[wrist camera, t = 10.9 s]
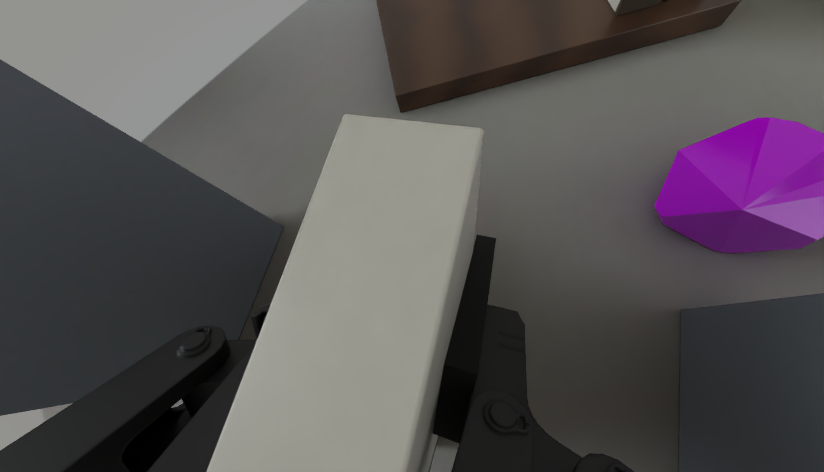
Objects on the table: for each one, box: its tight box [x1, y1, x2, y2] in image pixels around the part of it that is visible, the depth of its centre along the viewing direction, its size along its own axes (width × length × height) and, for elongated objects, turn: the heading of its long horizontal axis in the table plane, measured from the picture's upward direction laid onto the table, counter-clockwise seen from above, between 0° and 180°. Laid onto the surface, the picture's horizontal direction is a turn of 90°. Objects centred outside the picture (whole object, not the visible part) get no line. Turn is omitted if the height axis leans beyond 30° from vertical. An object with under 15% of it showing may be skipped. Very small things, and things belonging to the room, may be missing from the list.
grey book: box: [0, 60, 283, 416], centre depth 12 cm, size 9×3×13 cm, turn 165°
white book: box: [207, 114, 484, 472], centre depth 9 cm, size 8×2×12 cm, turn 165°
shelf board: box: [376, 0, 741, 112], centre depth 20 cm, size 20×11×2 cm, turn 100°
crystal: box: [654, 118, 824, 253], centre depth 13 cm, size 5×5×5 cm
